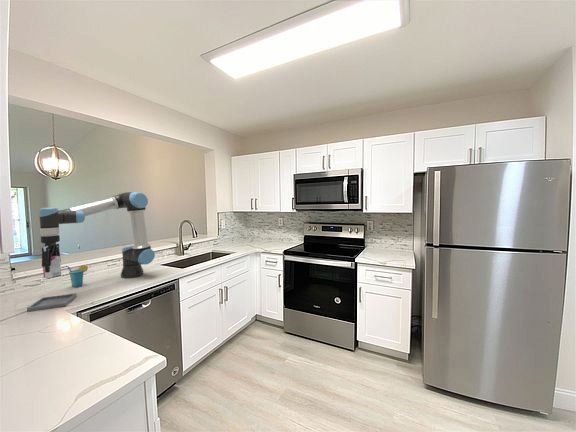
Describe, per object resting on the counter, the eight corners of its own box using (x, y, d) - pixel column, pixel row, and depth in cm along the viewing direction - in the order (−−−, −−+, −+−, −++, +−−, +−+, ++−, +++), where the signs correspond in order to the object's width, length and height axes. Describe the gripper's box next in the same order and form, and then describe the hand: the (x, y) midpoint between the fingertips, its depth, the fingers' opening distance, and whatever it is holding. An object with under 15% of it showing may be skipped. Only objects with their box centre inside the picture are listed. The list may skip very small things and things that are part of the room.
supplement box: (56, 274, 140) (55, 255, 139) (61, 276, 137) (60, 256, 137) (43, 277, 135) (41, 257, 134) (48, 279, 132) (46, 258, 132)
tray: (76, 296, 147) (76, 293, 147) (65, 306, 133) (65, 302, 133) (42, 300, 141) (42, 297, 141) (27, 311, 126) (26, 308, 126)
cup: (61, 290, 158) (59, 267, 157) (62, 287, 164) (60, 265, 163) (88, 285, 166) (87, 264, 166) (88, 282, 172) (87, 262, 172)
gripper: (50, 233, 143) (52, 271, 144) (30, 238, 124) (33, 281, 125) (66, 233, 146) (68, 270, 147) (49, 237, 127) (52, 280, 128)
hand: (52, 275), depth 136 cm, fingers closed on supplement box, 8 cm apart
